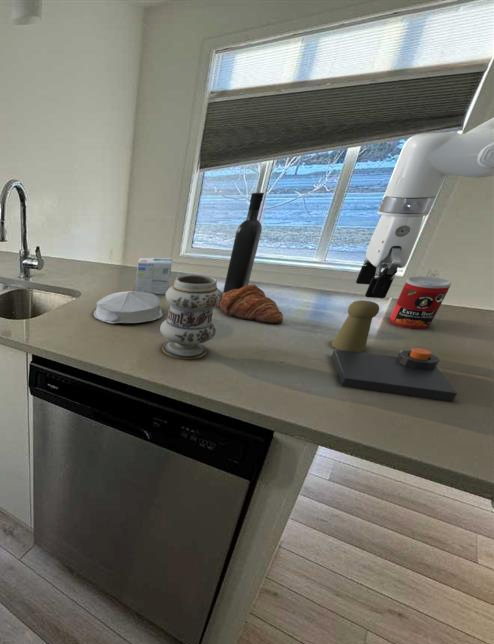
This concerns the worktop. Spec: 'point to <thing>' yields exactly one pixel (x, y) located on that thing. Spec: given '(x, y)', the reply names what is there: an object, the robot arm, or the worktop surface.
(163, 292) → the light bulb box
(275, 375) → the worktop surface
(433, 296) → the canned food
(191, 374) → the worktop surface
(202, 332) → the apothecary jar
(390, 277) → the robot arm
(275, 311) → the pastry
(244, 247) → the wine bottle
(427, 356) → the button
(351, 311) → the cork
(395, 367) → the scale
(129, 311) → the food container
